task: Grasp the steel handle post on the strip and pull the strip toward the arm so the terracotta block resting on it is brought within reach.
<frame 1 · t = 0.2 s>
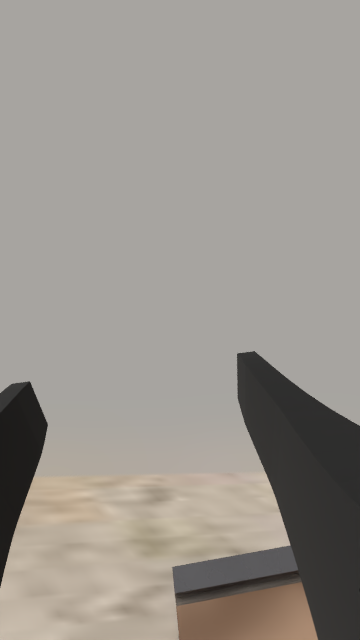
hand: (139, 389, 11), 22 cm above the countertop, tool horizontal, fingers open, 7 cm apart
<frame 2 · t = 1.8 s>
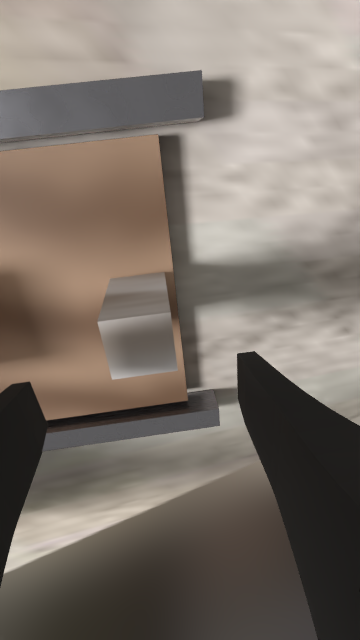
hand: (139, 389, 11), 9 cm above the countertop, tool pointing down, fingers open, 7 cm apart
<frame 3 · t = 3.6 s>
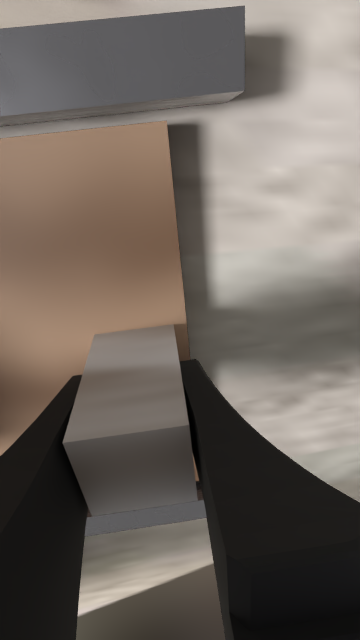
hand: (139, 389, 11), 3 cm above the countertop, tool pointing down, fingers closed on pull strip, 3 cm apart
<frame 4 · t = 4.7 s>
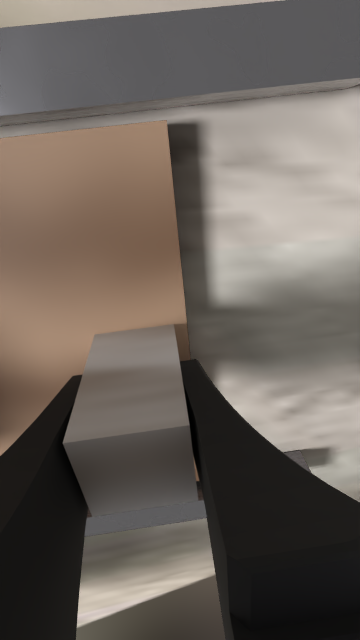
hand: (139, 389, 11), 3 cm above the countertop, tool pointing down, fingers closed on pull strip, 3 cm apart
guide rails: (19, 361, 13), on the countertop
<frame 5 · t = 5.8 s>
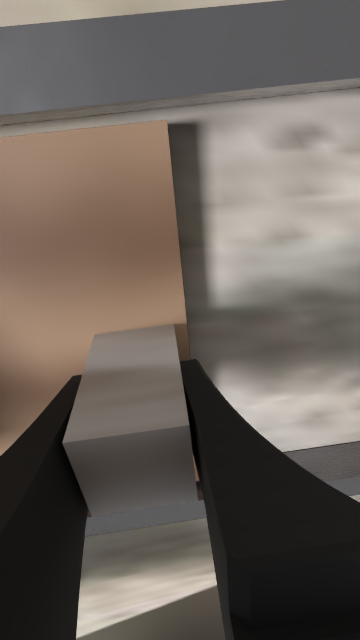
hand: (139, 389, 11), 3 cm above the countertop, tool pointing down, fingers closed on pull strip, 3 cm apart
guide rails: (118, 348, 13), on the countertop
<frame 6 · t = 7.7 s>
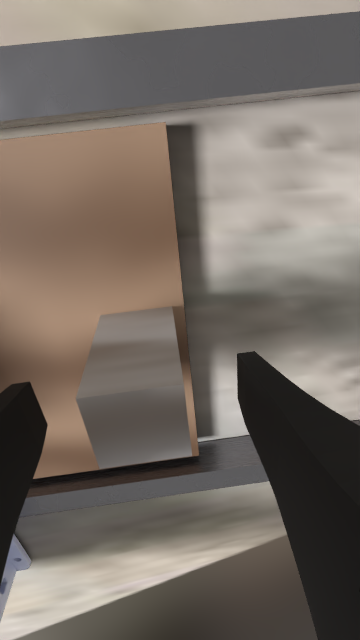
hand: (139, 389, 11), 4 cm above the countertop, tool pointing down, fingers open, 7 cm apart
guide rails: (121, 330, 15), on the countertop
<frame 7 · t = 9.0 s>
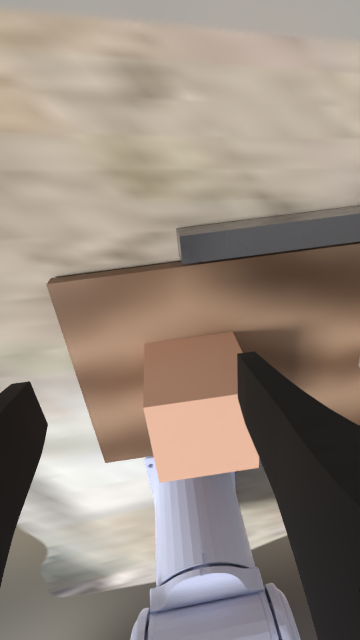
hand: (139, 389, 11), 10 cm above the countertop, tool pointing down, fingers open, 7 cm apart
terracotta block: (192, 373, 22), point 1 cm above the countertop, touching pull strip
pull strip: (255, 383, 21), point 3 cm above the countertop, slide at 8.0 cm, touching terracotta block
guide rails: (358, 339, 24), on the countertop
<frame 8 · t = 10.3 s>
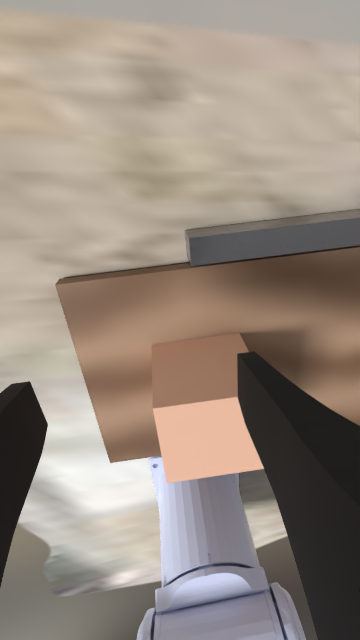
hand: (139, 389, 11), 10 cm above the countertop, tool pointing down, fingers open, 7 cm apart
terracotta block: (198, 373, 23), point 1 cm above the countertop, touching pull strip
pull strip: (261, 384, 21), point 3 cm above the countertop, slide at 8.0 cm, touching terracotta block
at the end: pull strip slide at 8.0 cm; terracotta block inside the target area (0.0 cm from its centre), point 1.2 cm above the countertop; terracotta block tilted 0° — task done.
